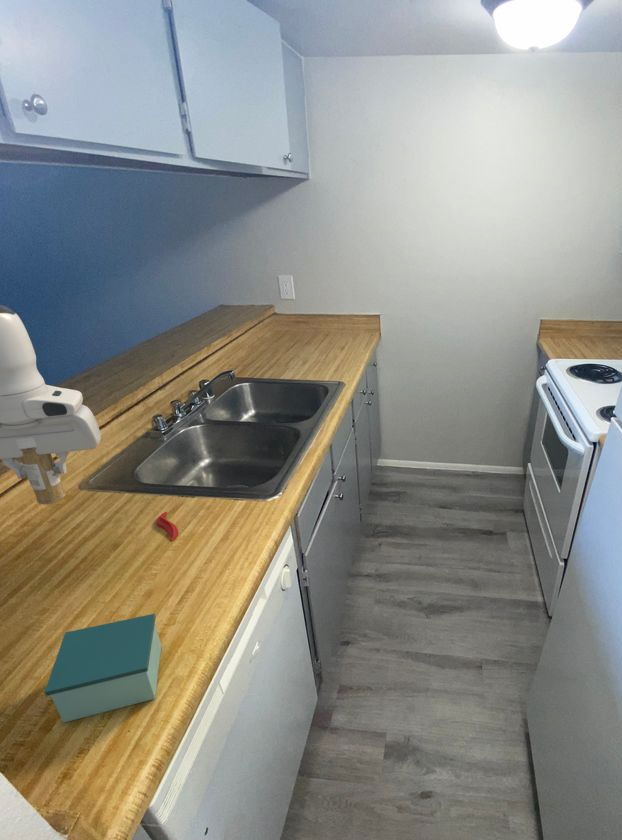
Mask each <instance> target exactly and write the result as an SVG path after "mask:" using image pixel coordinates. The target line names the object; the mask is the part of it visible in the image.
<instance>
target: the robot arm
mask: <svg viewBox="0 0 622 840" xmlns="http://www.w3.org/2000/svg"><path fill="white" fill-rule="evenodd" d="M83 401H84V396H83V393H82V392H81V391H79V390H76V389H71V388H64V387H58V386H54V385H49V384H46V382H45V379H44V377H43V376H42V374H41V373H40V372H39V370H38V367H37V355H36V352H35V348H34V345H33V342H32V340H31V338H30V336H29V333H28V331H27V329H26V326H25V325H24V323H23V321H22V319H21V317H20V316H19V315H18V314H17V313H16V312H15V311H14V310H12V309H11V308H10V307H7V306H5V305H3V304H0V460H1V461H2V464H3V465H4V466H6V467H7V468H8V469H10V470H12V471H13V472H15V475H16V477H17V479H18V480H23V479H28V477H27V474H26V472H25V469H24V467H23V464H22V463H20V462H19V461H18V460H17V458H20V457H23V452H22V451H20V450H21V449H19V448H18V447H17V444H16V441H15V440H16V439H19V438H29V437H31V438H34V440H35V443H36V447H34V448H36V450H35V451H36V453H37V454H39V455H44V454H51V455H52V454H55V457H56V458H57V459H59V461H54V465H53V470H54V471H55V472H54V473H55V474H56V475H57V474H59V475H63V474H66V473H67V471H68V468H67V464H66V460H67V458H68V455H69V453H70V452H80V451H88V450H94V449H96V448H97V447H98V446H99V444H100V442H101V440H102V433H101V430H100V427H99V425H98V421H97V420H96V417H95V415H94V414H93V412H92V410H91V409H90V408H89V407H88V406H87V405H84V404H83Z"/></svg>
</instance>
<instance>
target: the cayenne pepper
mask: <svg viewBox="0 0 622 840" xmlns="http://www.w3.org/2000/svg"><path fill="white" fill-rule="evenodd" d="M167 514H168V511H164V512H163V513H161V514H160V515H159V516H158V517H157V518H156V520H155V524H156V526H157V527H158V528H160V529H161V530H163V531H165V533H166V534H167V535H168V537H169V538H170V542H173V541H175V540H176V539H177V537H178V536H179V529H178V526H176V524H174V522H171V521H170V520H168V519H167V518H166V516H167Z"/></svg>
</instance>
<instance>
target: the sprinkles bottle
mask: <svg viewBox="0 0 622 840" xmlns="http://www.w3.org/2000/svg"><path fill="white" fill-rule="evenodd" d="M15 441H16V444H17V447H18V448H19V449H21V450H20V451H22V452H23V457H19V458H20V460H21V465H23V467H24V469H25V472H26V474H27V477H28V478H27V479H28V481H29V484H30V487H31V488H32V490H33V492H34V495H35V498H36V503H38V504H39V505H45V506H46V505H52V504H56V503H58V502H60V501H62V500H64V499H65V498H66V497H67V492H66V490H65V489H64V486H63V484H62V483H63V482H62V481H61V475H60V474H57V475H56V474H55V473H54V472H55V471H54V470H53V465H54V463H55V461H54V458H53V456H52V454H44V455H39V454H37V453H36V451H35V450H36V448H34V447H36V443H35V440H34V438H31V437H29V438H19V439H16V440H15Z"/></svg>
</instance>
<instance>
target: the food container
mask: <svg viewBox="0 0 622 840" xmlns="http://www.w3.org/2000/svg"><path fill="white" fill-rule="evenodd" d="M156 616H157V615H156V614H155V613H150V614H146V615H141V616H137V617H131V618H127V619H123V620H117V621H113V622H108V623H103V624H98V625H94V626H89V627H84V628H79V629H74V630H69V631H65V632H64V635H63V638H62V641H61V644H60V646H59V649H58V652H57V655H56V658H55V661H54V664H53V667H52V670H51V672H50V676H49V678H48V680H47V684H46V687H45V690H44V695H45V696H47V697H48V696H50V697H51V700H52V702H53V704H54V706H55V708H56V710H57V712H58V714H59V717H60V718H61V720H62V722H63V723H68V722H71V721H75V720H79V719H83V718H87V717H91V716H94V715H99V714H103V713H107V712H110V711H113V710H117V709H121V708H126V707H129V706H132V705H136V704H137V705H138V704H140V703H141V704H142V703H144V702H149V701H152V700H155V699H156V693H157V687H158V686H157V685H158V679H159V669H160V663H161V654H162V642H161V639H160V636H159V633H158V630H157V626H156Z"/></svg>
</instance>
